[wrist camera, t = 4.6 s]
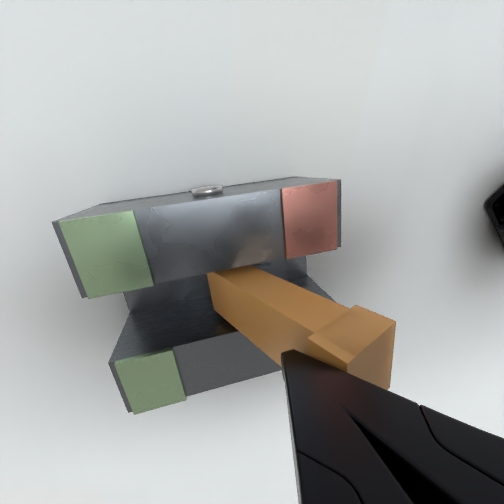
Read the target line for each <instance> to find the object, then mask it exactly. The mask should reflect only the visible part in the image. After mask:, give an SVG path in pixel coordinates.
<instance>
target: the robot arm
mask: <svg viewBox="0 0 504 504" xmlns="http://www.w3.org/2000/svg"><path fill="white" fill-rule="evenodd" d="M486 208H487V211H488V213H489V215H490V217H491V219H492V221H493V224H494V226H495V228H496V230H497V232H498V234H499V237H500V239H501V241H502V243H503V245H504V186H503V187H502V188H501V189H500V190H499V191H498V192H497V193H496V194H495V195H494V196H493V197H492V198H491V199H490V200H489V201H488V203H487V206H486ZM281 364H282V374H283V379H284V382H285V388H286V396H287V405H288V414H289V423H290V432H291V440H292V449H293V458H294V467H295V476H296V485H297V493H298V502H299V504H504V438H501V437H499V436H496V435H493V434H491V433H488V432H486V431H483V430H480V429H478V428H475V427H473V426H471V425H468V424H466V423H463V422H461V421H459V420H456V419H454V418H451V417H449V416H447V415H444V414H442V413H440V412H437V411H435V410H433V409H430V408H428V407H426V406H424V405H420V406H419V405H418V404H417V403H415V402H413V401H411V400H408V399H406V398H404V397H402V396H399V395H397V394H395V393H392V392H390V391H388V390H386V389H383V388H381V387H379V386H377V385H374V384H372V383H370V382H367V381H365V380H363V379H361V378H358V377H356V376H354V375H351V374H349V373H347V372H345V371H342V370H340V369H338V368H336V367H333V366H331V365H329V364H326V363H324V362H322V361H320V360H317V359H315V358H313V357H310V356H308V355H306V354H304V353H301V352H299V351H297V350H295V349H291V350H288V351H284V352H282V353H281Z"/></svg>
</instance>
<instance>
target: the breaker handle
mask: <svg viewBox="0 0 504 504" xmlns="http://www.w3.org/2000/svg"><path fill="white" fill-rule="evenodd" d="M207 277H208V282H209V287H210V292H211V298H212V303H213V308H214V310H215V311H216V312H217V313H218V314H220V315H221V316H222V317H223V318H224V319H225V320H227V321H228V322H229V323H230V324H231V325H233V326H234V327H235V328H236V329H237V330H238V331H240V332H241V333H242V334H243V335H244V336H245V337H247V338H248V339H249V340H250V341H251V342H252V343H254V344H255V345H256V346H257V347H258V348H260V349H261V350H262V351H263V352H264V353H265V354H267V355H268V356H269V357H270V358H271V359H272V360H274V361H275V362H276V363H277V364H278V365H279V366H281V367H282V364H281V353H282V352H284V351H288V350H291V349H295V350H297V351H299V352H301V353H304V354H306V355H308V356H310V357H313V358H315V359H317V360H320V361H322V362H324V363H326V364H329V365H331V366H333V367H336V368H338V369H340V370H342V371H345V372H347V373H349V374H351V375H354V376H356V377H358V378H361V379H363V380H365V381H367V382H370V383H372V384H374V385H377V386H379V387H381V388H383V389H386V390H388V389H389V387H390V379H391V369H392V358H393V348H394V337H395V327H396V321H394V320H391V319H389V318H387V317H384V316H382V315H379V314H377V313H375V312H372V311H370V310H367V309H365V308H363V307H360V306H358V305H355V306H353V307H352V308H347V307H345V306H343V305H341V304H338V303H336V302H334V301H331V300H329V299H327V298H325V297H322V296H320V295H318V294H315V293H313V292H311V291H308V290H306V289H304V288H302V287H299V286H297V285H295V284H292V283H290V282H288V281H286V280H283V279H281V278H279V277H276V276H274V275H272V274H270V273H267V272H265V271H263V270H260V269H258V268H256V267H254V266H251V265H246V266H241V267H236V268H231V269H226V270H221V271H216V272H211V273H207Z"/></svg>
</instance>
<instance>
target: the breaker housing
mask: <svg viewBox="0 0 504 504" xmlns="http://www.w3.org/2000/svg"><path fill="white" fill-rule="evenodd" d="M52 224H53V227H54V229H55V232H56V234H57V237H58V239H59V242H60V244H61V247H62V249H63V252H64V254H65V257H66V259H67V262H68V264H69V267H70V269H71V272H72V274H73V277H74V279H75V282H76V284H77V286H78V289H79V291H80V294H81V296H82V298H85V297H88V299H90V298H95V297H100V296H105V295H110V294H115V293H120V292H123V293H124V296H125V299H126V302H127V305H128V308H129V311H130V314H129V317H128V319H127V321H126V324H125V326H124V328H123V330H122V333H121V335H120V337H119V340H118V342H117V344H116V346H115V349H114V351H113V353H112V355H111V358H110V360H109V362H108V364H109V366H110V369H111V371H112V374H113V376H114V378H115V381H116V383H117V386H118V388H119V391H120V393H121V396H122V398H123V401H124V403H125V406H126V408H127V411H128V413H129V412H133V413H134V415H135V414H138V413H142V412H146V411H149V410H153V409H156V408H160V407H163V406H167V405H170V404H174V403H177V402H181V401H185V400H186V396H190V395H193V394H197V393H201V392H204V391H208V390H211V389H215V388H219V387H222V386H226V385H229V384H233V383H236V382H240V381H244V380H247V379H251V378H254V377H258V376H261V375H265V374H269V373H272V372H276V371H279V370H282V367H281V366H279V365H278V364H277V363H276V362H275V361H274V360H272V359H271V358H270V357H269V356H268V355H267V354H265V353H264V352H263V351H262V350H261V349H260V348H258V347H257V346H256V345H255V344H254V343H252V342H251V341H250V340H249V339H248V338H247V337H245V336H244V335H243V334H242V333H241V332H240V331H238V330H237V329H236V328H235V327H234V326H233V325H231V324H230V323H229V322H228V321H227V320H225V319H224V318H223V317H222V316H221V315H220V314H218V313H217V312H216V311H215V310H214V308H213V303H212V298H211V292H210V287H209V282H208V277H207V273H211V272H216V271H221V270H226V269H231V268H236V267H241V266H246V265H251V266H254V267H256V268H258V269H260V270H263V271H265V272H267V273H270V274H272V275H274V276H276V277H279V278H281V279H283V280H286V281H288V282H290V283H292V284H295V285H297V286H299V287H302V288H304V289H306V290H308V291H311V292H313V293H315V294H318V295H320V296H322V297H325V298H327V299H329V300H331V301H334V300H333V299H332V298H331V297H330V296H329V295H328V294H327V293H326V292H325V291H323V290H322V289H321V288H320V287H319V286H318V285H317V284H316V283H315V282H314V281H313V280H312V279H310V278H309V277H308V276H307V269H306V255H311V254H316V253H321V252H326V251H331V250H336V249H337V247H341V180H339V179H324V178H309V177H289V178H282V179H275V180H268V181H261V182H254V183H246V184H239V185H232V186H225V187H222V185H214V186H205V187H199V188H194V189H191V191H189V192H182V193H175V194H168V195H161V196H154V197H146V198H139V199H132V200H125V201H118V202H111V203H103V204H100V205H97V206H94V207H91V208H89V209H86V210H83V211H81V212H78V213H75V214H72V215H70V216H67V217H64V218H62V219H59V220H56V221H54V222H52ZM334 302H335V301H334Z"/></svg>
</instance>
